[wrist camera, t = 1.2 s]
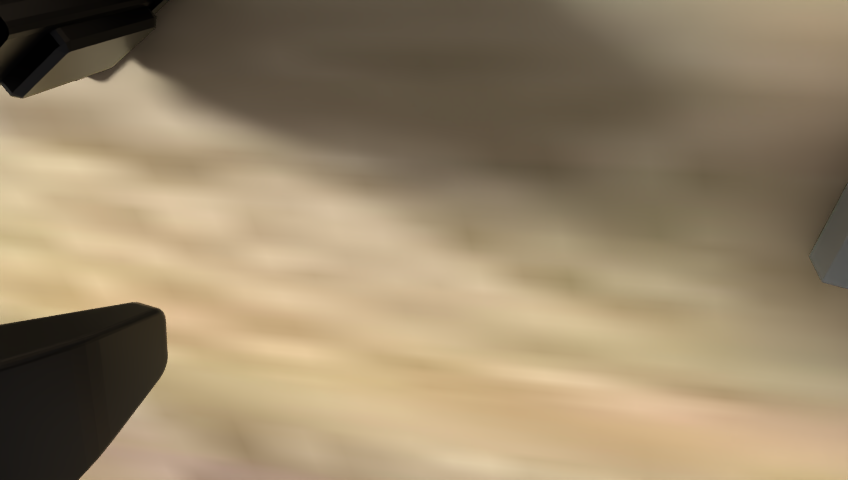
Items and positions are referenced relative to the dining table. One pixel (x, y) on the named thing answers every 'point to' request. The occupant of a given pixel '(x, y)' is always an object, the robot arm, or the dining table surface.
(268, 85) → the dining table surface
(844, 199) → the fader console
